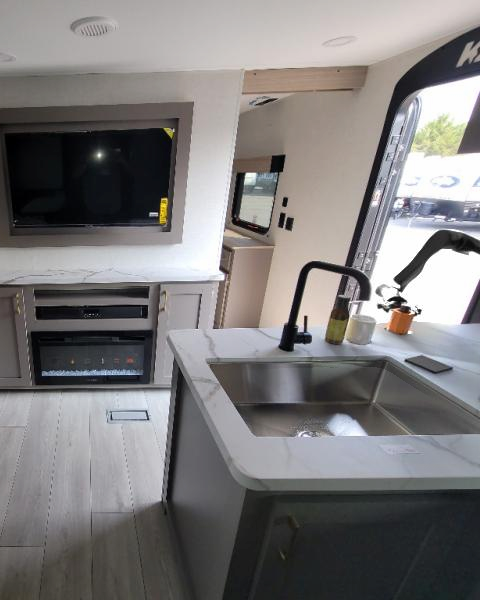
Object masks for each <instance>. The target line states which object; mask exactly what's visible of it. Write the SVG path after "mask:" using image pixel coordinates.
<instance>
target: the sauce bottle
mask: <svg viewBox="0 0 480 600" xmlns="http://www.w3.org/2000/svg"><path fill="white" fill-rule="evenodd" d="M350 301H351V296H349V295H347V294H339V295H337V301H336V304H335V307H333V308H332V309H331V311H330V315H329V317H328V321H327V326H326V329H325V330H326V331H325V333H324V334H325V335H324V341H326V342H327V343H329V344H334V345H341V344H343V343H344V340H345V338H346V337H345V333H346V330H347V327H348V323H349V320H350V316H351V314H350V309H349V304H350Z"/></svg>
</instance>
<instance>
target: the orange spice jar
mask: <svg viewBox="0 0 480 600" xmlns="http://www.w3.org/2000/svg"><path fill="white" fill-rule="evenodd" d="M399 311H400V308H398V309H394V310H393V311H392V312H391V313H392V314H391V316H390V319H389V322H388V325H387V327H388V330H390V331H389V332H391V331H392V332H391V333H394V332H395V333H394V334H396V333H401V334H405V335H407V334H406V333H408V332H410V329H411V326H412V323H413V320H414V318H415V317H414V315H415V313H414V312H413V311H412V310H411V311H410V310H409V313H401V312H399ZM388 330H387V331H388Z"/></svg>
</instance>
